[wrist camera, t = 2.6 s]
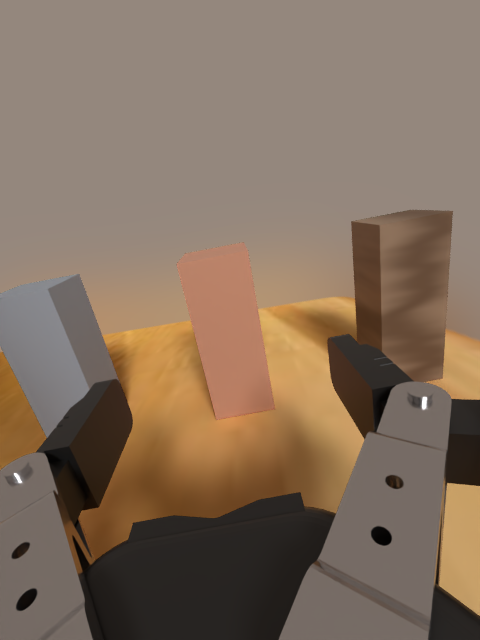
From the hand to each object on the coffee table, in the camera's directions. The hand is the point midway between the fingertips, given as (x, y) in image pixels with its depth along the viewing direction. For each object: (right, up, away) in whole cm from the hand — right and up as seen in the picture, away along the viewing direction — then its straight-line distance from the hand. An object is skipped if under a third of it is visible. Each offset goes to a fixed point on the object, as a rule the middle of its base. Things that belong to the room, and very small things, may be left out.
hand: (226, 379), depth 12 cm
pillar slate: (-12, -6, +14) cm, 19 cm away
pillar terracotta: (+1, -4, +14) cm, 14 cm away
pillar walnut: (+13, -2, +14) cm, 19 cm away
